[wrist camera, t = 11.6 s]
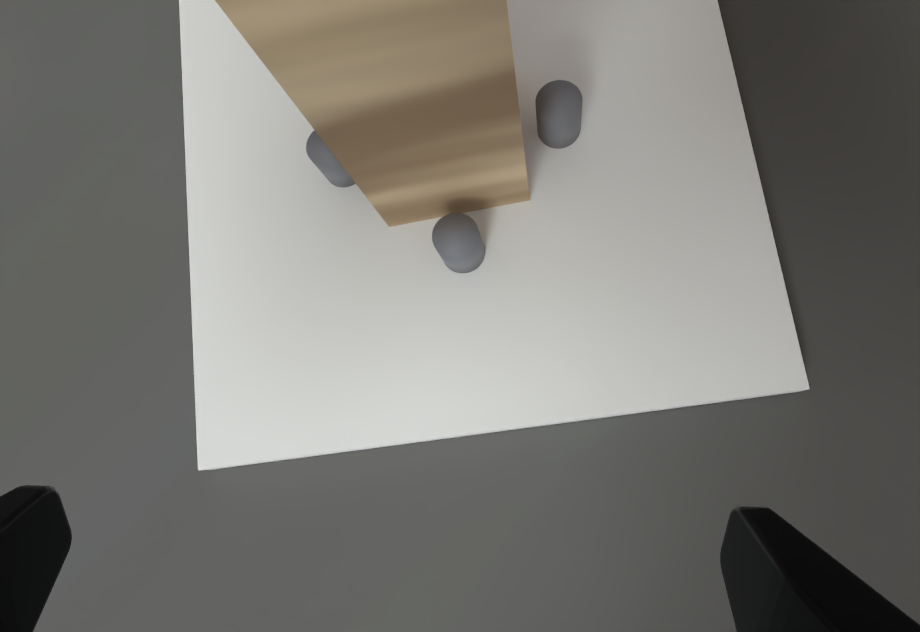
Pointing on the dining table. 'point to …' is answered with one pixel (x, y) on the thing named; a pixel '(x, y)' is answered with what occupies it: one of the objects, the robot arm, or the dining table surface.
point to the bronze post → (401, 95)
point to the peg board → (484, 250)
